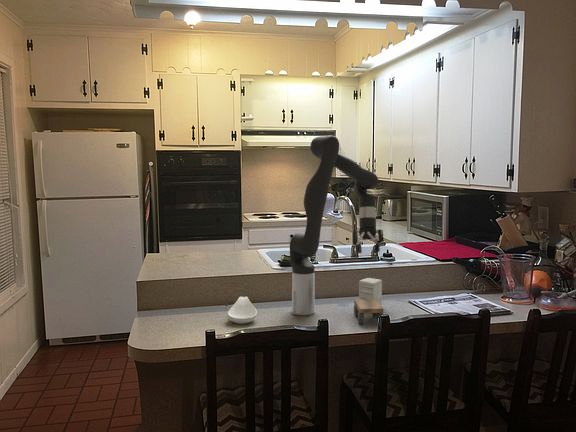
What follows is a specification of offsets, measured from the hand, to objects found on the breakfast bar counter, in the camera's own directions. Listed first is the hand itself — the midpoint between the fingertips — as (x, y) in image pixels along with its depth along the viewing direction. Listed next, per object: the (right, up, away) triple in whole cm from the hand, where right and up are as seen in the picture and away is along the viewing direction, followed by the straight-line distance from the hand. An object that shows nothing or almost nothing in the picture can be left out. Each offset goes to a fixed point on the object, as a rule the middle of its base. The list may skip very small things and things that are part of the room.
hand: (368, 253), depth 224 cm
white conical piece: (-55, -25, -22) cm, 64 cm away
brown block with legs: (-5, -25, -27) cm, 37 cm away
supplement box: (-1, -23, -12) cm, 26 cm away
